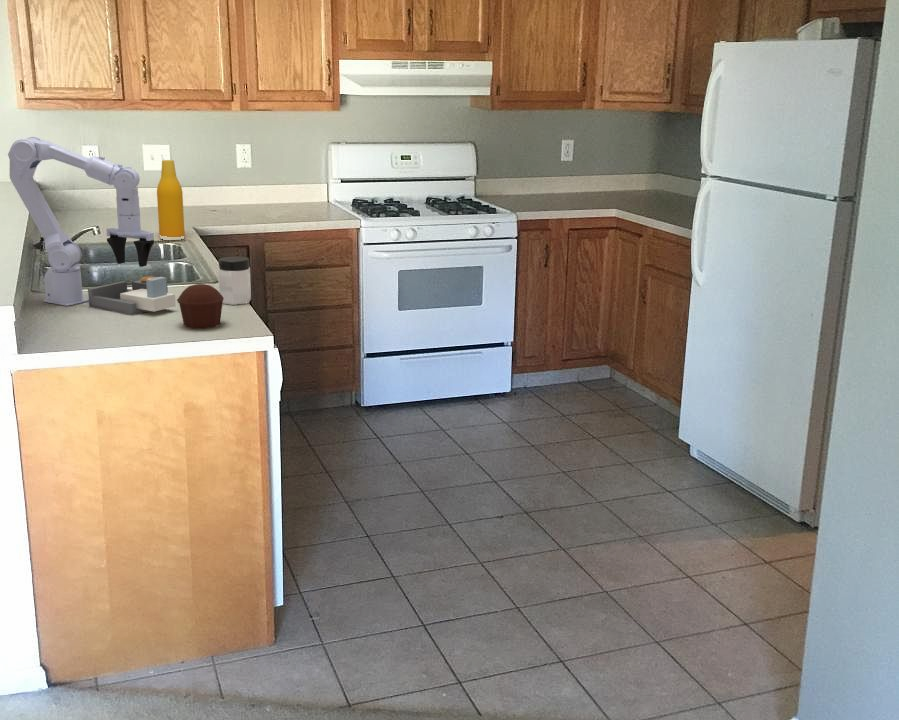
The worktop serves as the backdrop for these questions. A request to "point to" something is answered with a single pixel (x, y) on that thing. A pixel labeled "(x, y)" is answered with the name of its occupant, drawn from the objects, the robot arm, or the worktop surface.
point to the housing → (115, 297)
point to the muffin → (201, 306)
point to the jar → (234, 280)
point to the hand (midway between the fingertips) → (132, 264)
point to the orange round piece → (146, 278)
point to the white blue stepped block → (151, 296)
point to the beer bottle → (170, 202)
